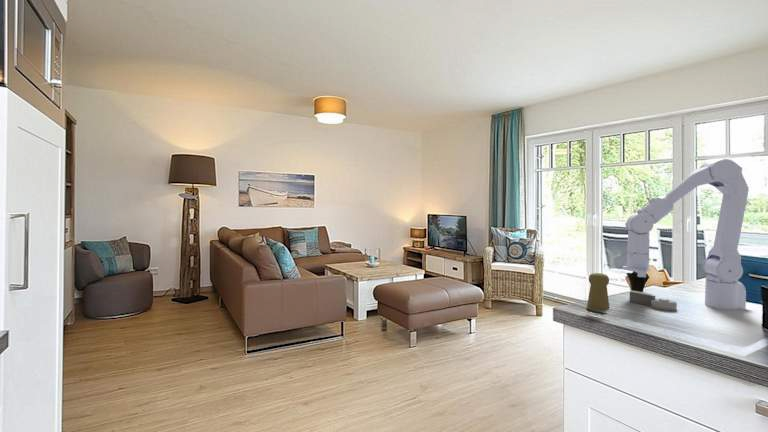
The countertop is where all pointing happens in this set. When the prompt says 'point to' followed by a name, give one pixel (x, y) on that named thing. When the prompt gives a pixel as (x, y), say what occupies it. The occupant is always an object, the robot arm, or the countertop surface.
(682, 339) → the countertop surface
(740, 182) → the robot arm
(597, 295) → the cork
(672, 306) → the peg dial
